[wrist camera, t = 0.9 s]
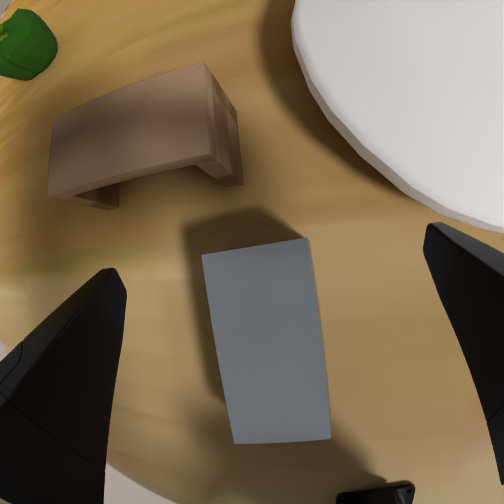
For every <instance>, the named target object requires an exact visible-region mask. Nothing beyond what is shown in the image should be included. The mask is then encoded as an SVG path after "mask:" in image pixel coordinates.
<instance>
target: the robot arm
mask: <svg viewBox="0 0 504 504" xmlns="http://www.w3.org/2000/svg"><path fill="white" fill-rule="evenodd" d="M423 253H424V256H425V259H426V262H427V264H428V267H429V270H430V272H431V275H432V278H433V280H434V283H435V286H436V289H437V292H438V294H439V297H440V299H441V302H442V304H443V306H444V308H445V311H446V313H447V315H448V317H449V320H450V322H451V324H452V327H453V329H454V331H455V334H456V336H457V339H458V341H459V344H460V346H461V349H462V351H463V354H464V356H465V359H466V362H467V364H468V367H469V370H470V373H471V375H472V378H473V381H474V384H475V387H476V390H477V393H478V396H479V399H480V402H481V405H482V409H483V412H484V415H485V419H486V421H487V427H488V430H489V434H490V438H491V442H492V445H493V450H494V454H495V458H496V463H497V467H498V472H499V477H500V481H501V485H504V253H502V252H500V251H498V250H496V249H495V248H493V247H491V246H489V245H487V244H485V243H483V242H481V241H479V240H477V239H475V238H473V237H471V236H469V235H467V234H465V233H463V232H461V231H459V230H457V229H455V228H453V227H451V226H449V225H446V224H444V223H442V222H435V223H429V224H428V225H427V228H426V234H425V239H424V245H423ZM126 300H127V292H126V289H125V286H124V284H123V282H122V280H121V278H120V276H119V274H118V272H117V271H116V269H114V268H107V269H102V270H100V271H99V272H98V273H97V274H95V275H94V276H93V277H92V278H91V279H90V280H88V281H87V282H86V283H85V284H84V285H83V286H81V287H80V288H79V289H78V290H77V291H76V292H75V293H73V294H72V295H71V296H70V297H69V298H68V299H67V300H66V301H64V302H63V303H62V304H61V305H60V306H59V307H58V308H57V309H56V310H54V311H53V312H52V313H51V314H50V315H49V316H48V317H47V318H46V319H45V320H44V321H42V322H41V323H40V324H39V325H38V326H37V327H36V328H35V329H34V330H33V331H32V332H31V333H30V334H29V335H28V336H27V337H25V338H24V340H23V341H21V342H20V343H19V344H18V345H17V346H16V347H15V348H14V349H13V350H12V351H11V352H10V353H9V354H8V355H7V356H6V357H5V358H4V359H3V360H2V361H1V362H0V504H104V484H105V471H104V470H105V466H106V455H107V444H108V435H109V426H110V417H111V410H112V402H113V395H114V388H115V382H116V376H117V369H118V364H119V358H120V352H121V347H122V340H123V331H124V319H125V309H126ZM408 489H410V490H408ZM414 493H415V486H414V485H413V484H406V485H401V486H395V487H389V488H382V489H375V490H367V491H359V492H349V493H340V494H338V495H337V496H336V504H412V502H413V498H414ZM341 498H344V499H341Z"/></svg>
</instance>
